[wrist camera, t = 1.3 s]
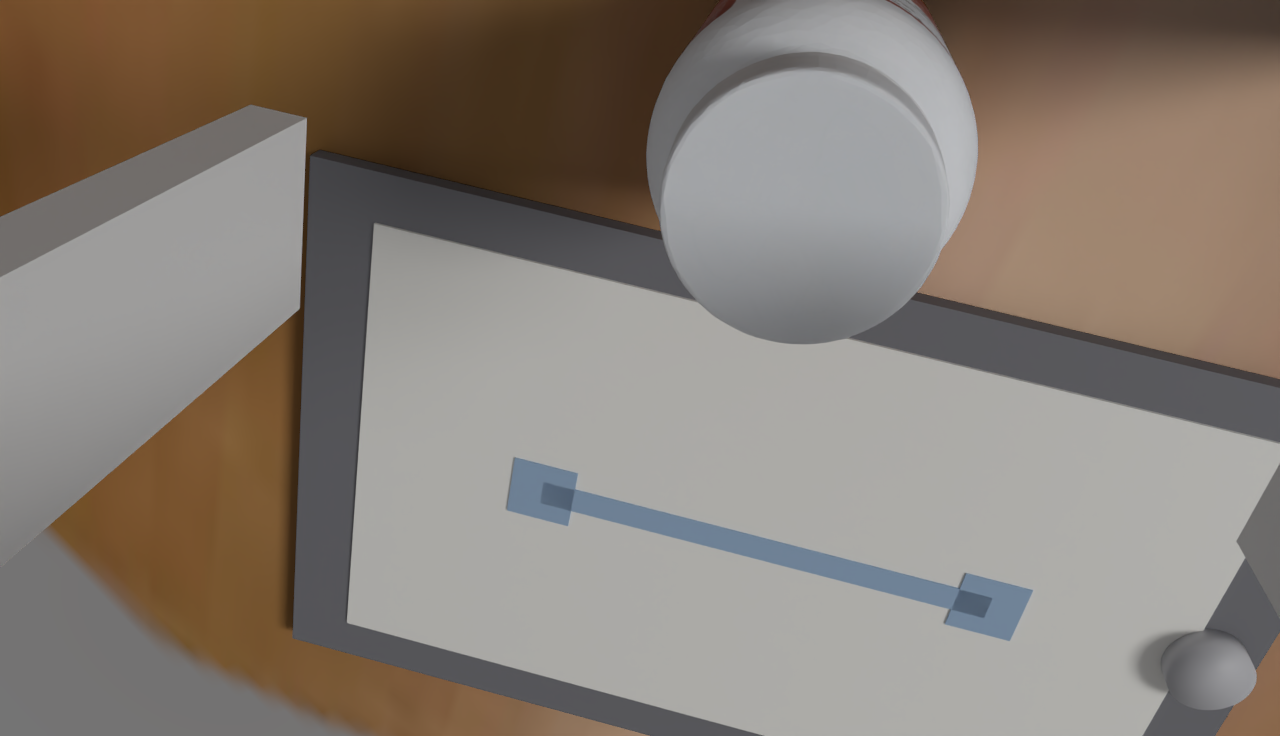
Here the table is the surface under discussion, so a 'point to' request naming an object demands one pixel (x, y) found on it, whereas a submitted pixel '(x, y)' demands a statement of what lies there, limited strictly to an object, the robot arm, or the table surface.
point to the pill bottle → (810, 163)
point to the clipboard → (754, 492)
